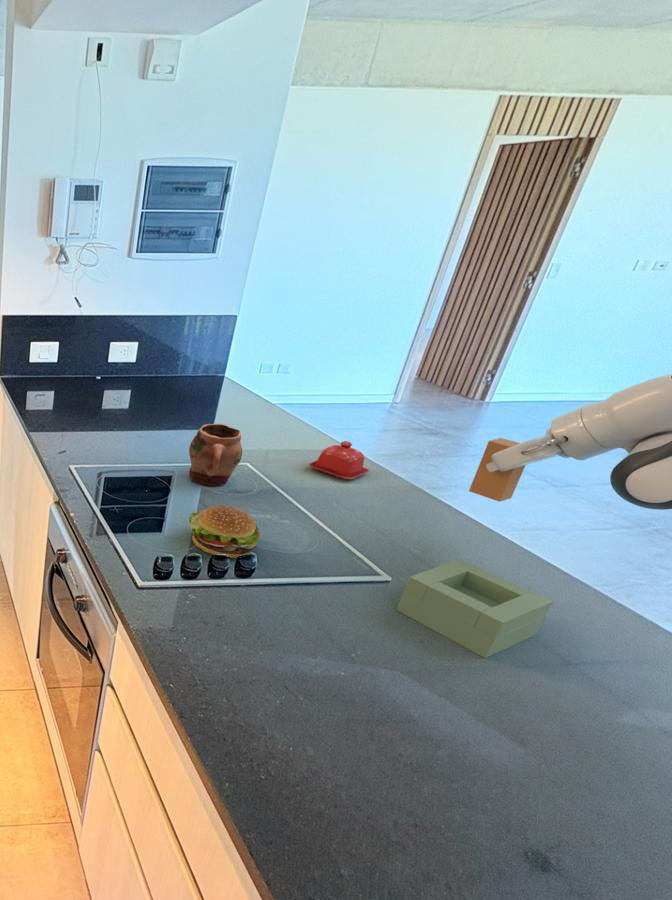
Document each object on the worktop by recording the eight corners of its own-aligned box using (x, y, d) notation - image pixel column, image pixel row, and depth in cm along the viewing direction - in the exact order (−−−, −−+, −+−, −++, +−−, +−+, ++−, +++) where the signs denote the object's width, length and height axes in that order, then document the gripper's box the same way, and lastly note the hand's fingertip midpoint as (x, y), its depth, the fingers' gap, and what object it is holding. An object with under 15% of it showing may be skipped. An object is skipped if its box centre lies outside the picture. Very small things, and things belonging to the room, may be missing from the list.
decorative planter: (240, 501, 147) (253, 446, 140) (186, 495, 149) (197, 442, 143) (229, 469, 164) (240, 419, 158) (181, 465, 167) (190, 415, 160)
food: (194, 522, 137) (200, 490, 133) (261, 540, 130) (270, 507, 126) (174, 548, 127) (181, 514, 123) (246, 569, 120) (256, 533, 116)
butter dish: (371, 474, 161) (381, 443, 157) (349, 484, 155) (359, 453, 152) (326, 460, 170) (335, 431, 166) (304, 469, 164) (312, 439, 160)
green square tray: (535, 635, 102) (553, 600, 98) (484, 658, 96) (502, 622, 93) (445, 591, 113) (459, 558, 110) (396, 610, 108) (409, 576, 105)
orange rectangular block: (480, 487, 128) (500, 437, 123) (511, 498, 123) (533, 446, 118) (468, 491, 126) (488, 440, 122) (499, 501, 122) (521, 449, 117)
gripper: (558, 459, 106) (474, 489, 118) (619, 441, 113) (534, 472, 125) (538, 426, 107) (457, 460, 120) (599, 412, 115) (518, 444, 127)
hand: (497, 466), depth 123 cm, fingers closed on orange rectangular block, 4 cm apart
